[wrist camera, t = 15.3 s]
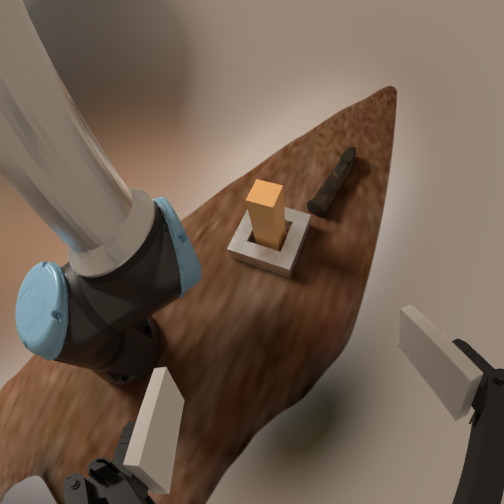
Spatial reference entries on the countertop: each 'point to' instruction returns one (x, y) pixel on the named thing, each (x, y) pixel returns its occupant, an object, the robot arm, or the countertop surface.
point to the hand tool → (332, 184)
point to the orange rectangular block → (267, 214)
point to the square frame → (267, 257)
